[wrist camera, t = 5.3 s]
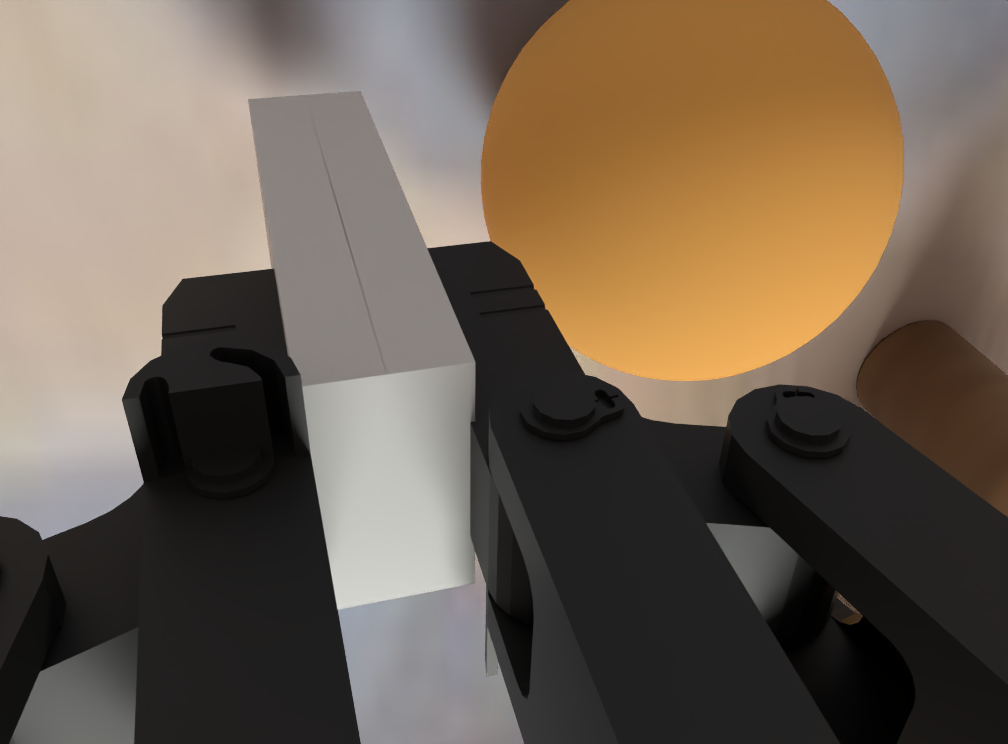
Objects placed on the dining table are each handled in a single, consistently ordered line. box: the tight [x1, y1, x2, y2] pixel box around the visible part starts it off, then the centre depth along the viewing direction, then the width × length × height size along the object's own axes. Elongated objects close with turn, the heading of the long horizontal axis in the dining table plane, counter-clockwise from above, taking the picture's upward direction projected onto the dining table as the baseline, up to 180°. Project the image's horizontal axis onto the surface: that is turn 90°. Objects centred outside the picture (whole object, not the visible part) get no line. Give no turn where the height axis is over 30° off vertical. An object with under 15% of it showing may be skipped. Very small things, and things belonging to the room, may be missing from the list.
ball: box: [481, 0, 904, 381], centre depth 14 cm, size 6×6×6 cm
